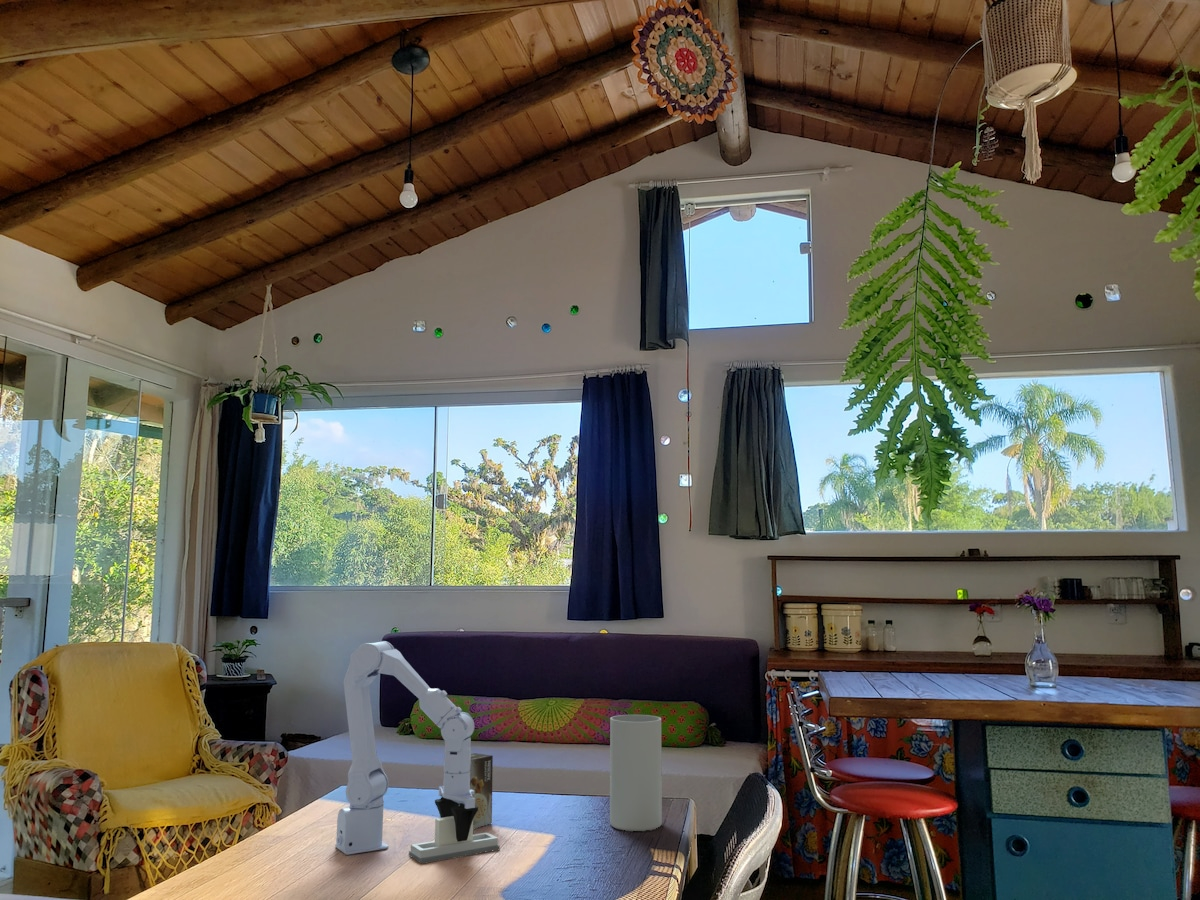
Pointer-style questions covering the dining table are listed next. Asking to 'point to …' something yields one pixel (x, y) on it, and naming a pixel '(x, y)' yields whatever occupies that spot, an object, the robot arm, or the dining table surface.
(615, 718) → the cylinder vase
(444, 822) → the door panel
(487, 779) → the coffee box
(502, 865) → the dining table surface
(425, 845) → the track base
